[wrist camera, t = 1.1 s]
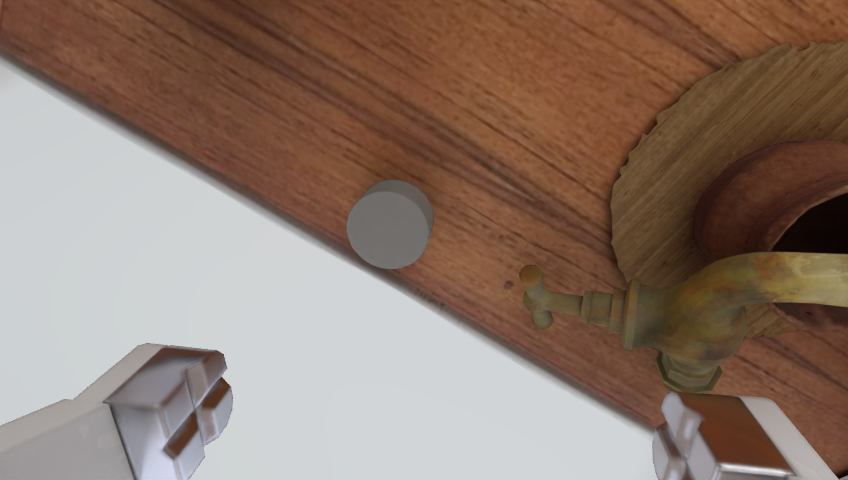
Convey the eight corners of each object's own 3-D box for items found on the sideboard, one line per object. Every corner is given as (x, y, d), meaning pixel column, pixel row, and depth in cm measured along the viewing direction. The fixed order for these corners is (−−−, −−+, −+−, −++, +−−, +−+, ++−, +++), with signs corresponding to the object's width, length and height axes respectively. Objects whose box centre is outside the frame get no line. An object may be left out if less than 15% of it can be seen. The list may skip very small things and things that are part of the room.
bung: (350, 218, 30) (332, 241, 26) (386, 158, 28) (371, 174, 24) (411, 255, 30) (401, 283, 27) (450, 199, 29) (445, 221, 25)
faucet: (784, 431, 27) (533, 373, 34) (780, 365, 29) (545, 323, 36) (899, 318, 16) (493, 267, 23) (880, 225, 18) (513, 204, 25)
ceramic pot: (962, 286, 26) (1115, 361, 20) (652, 367, 31) (695, 449, 25) (940, -29, 21) (1142, -65, 15) (569, 127, 26) (596, 153, 19)
